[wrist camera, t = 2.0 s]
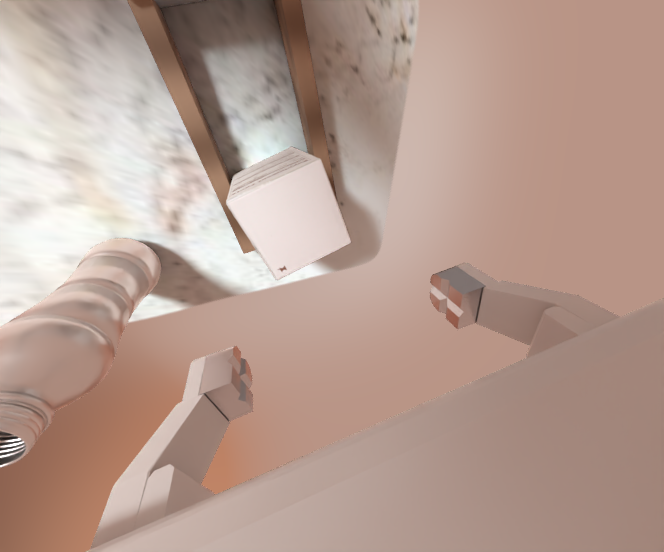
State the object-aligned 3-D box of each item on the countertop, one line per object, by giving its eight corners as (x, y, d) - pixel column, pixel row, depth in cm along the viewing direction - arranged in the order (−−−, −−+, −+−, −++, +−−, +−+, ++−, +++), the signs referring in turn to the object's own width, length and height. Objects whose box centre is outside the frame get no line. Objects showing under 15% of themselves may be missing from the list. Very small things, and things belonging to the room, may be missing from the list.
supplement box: (317, 205, 31) (354, 245, 21) (264, 230, 31) (274, 284, 20) (292, 143, 27) (323, 155, 16) (230, 172, 26) (221, 203, 16)
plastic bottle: (174, 247, 29) (83, 411, 12) (155, 291, 30) (53, 484, 14) (105, 220, 25) (-145, 396, 9) (88, 272, 27) (-142, 493, 11)
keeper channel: (122, -28, 18) (95, -61, 15) (281, -50, 20) (289, -85, 16) (243, 243, 31) (243, 257, 27) (333, 215, 32) (343, 226, 29)
